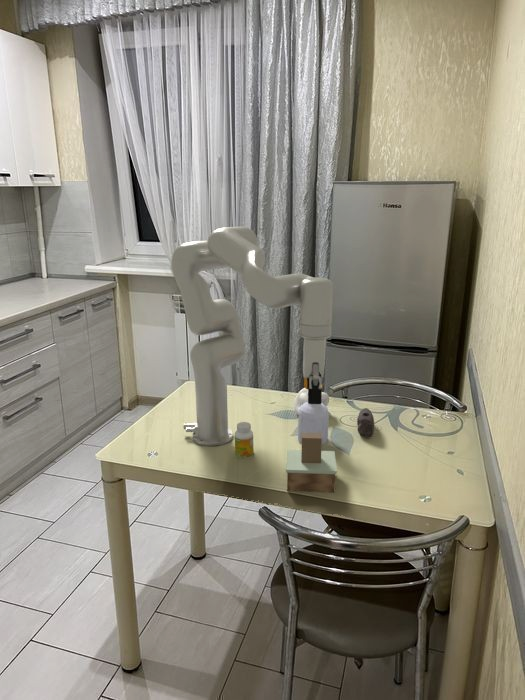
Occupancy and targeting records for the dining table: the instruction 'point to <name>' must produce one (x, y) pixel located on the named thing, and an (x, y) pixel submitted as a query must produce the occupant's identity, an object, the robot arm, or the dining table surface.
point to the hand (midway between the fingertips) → (314, 396)
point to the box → (311, 482)
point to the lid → (311, 457)
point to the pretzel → (303, 398)
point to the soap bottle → (313, 419)
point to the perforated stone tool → (365, 423)
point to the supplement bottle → (244, 440)
